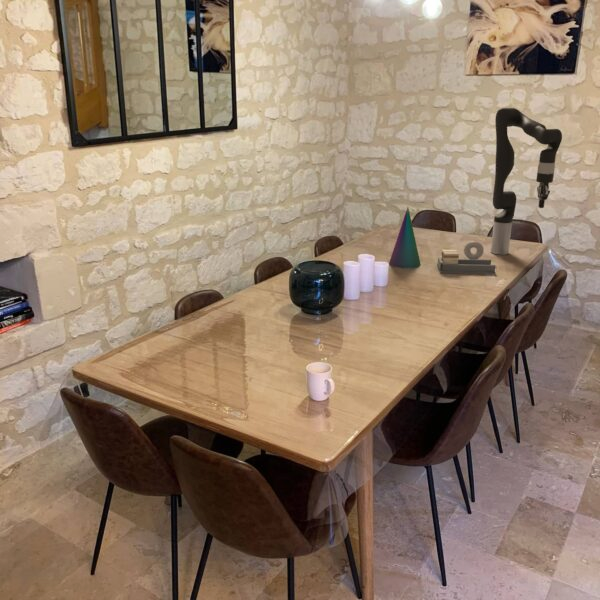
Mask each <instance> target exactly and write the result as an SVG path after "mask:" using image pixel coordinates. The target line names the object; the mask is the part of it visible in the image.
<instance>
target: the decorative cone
mask: <svg viewBox="0 0 600 600" xmlns="http://www.w3.org/2000/svg"><path fill="white" fill-rule="evenodd" d="M412 222H413V221H412V218H411V213H410V209H409V206H407V207H406V211H405V213H404V217H403V220H402V222H401V226H400V229H399V232H398V235H397V238H396V241H395V244H394V247H393V250H392V253H391V256H390V259H389V261H388V264H389V266H391V267H394V268H397V269H398V268H399V269H414V268H415V269H416V268H419V267H420V266H421V265H422V264H421V259H420V255H419V250H418V246H417V241H416V237H415V232H414V231H415V230H414V228H413V227H414V226H413V223H412Z"/></svg>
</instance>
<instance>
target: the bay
mask: <svg viewBox="0 0 600 600" xmlns="http://www.w3.org/2000/svg"><path fill="white" fill-rule="evenodd" d="M441 258H442V257H441V256H438V257H437V264H436V266H437V269H438V270H439V273H440V274H451V275H454V274H455V275H492V274H495V275H496V274H497V273H496V265H495V264H492V259H481V258H479V259H469V258H467V259H466V258H458V264H443V262H442V260H441Z"/></svg>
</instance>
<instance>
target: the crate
mask: <svg viewBox="0 0 600 600" xmlns="http://www.w3.org/2000/svg"><path fill="white" fill-rule="evenodd" d="M459 256H460V255H459V251H458V250H457V249H441V257H440V258H441V260H442V262H443V264H458V259H460V258H459Z"/></svg>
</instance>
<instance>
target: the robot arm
mask: <svg viewBox="0 0 600 600" xmlns="http://www.w3.org/2000/svg"><path fill="white" fill-rule="evenodd" d="M494 120H495V123H494V124H495V138H496V139H495V141H496V143H495V146H496V147H495V148H496V149H495V171H494V172H495V174H494V176H495V178H494V184H493V191H492V192H493V194H492V205H493V207H494V209H495V210H502V211H501V212H500V213H498V214H496V215H494V218H493V225H492V226H493V228H492V237H491V247H490V253H491V254H495V255H501V256H502V255H504V256H505V255H508V254H509V252H510V244H511V243H510V242H511V235H512V233H511V232H512V226H513V225H512V224H513V219H514V218H515V217H514V216H515V211H516V206H517V195H516V193H515V192H514V191H510V190H509V191H507V190H504V188H505V183H506V181H507V179H508V178H509V175H510V174H511V172H512V171H513V169H514V165H515V150H514V148H513V145H512V144H511V142H510V140H509V136H508V127H517V128H520V129H522V131H523V132H524V133H525V134H526V135H527V136H529V137H531V138H534V139H535V140H536V141H537V142H538V143H539V144H541V145H546V146H547V147H546V148H544V149H543V150H541V151H540V153H539V160H538V166H537V170H536V171H537V172H536V180H535V181H536V182H537V183H539V185H538V186H537V187H536V192H537V199H538V205H537V206H538V208H539V209H543V208H545V201H547V199H548V198H549V195H550V185H549V184H551V183H553V182H554V178H555V177H554V175H555V169H556V168H555V167H556V156H557V152H558V151H559V148H560V146H561V144H562V143H561V142H562V139H563V133H562V131H561V130H560V129H559V128H547V127H546V125H544V124H543V123H540V122H538V121H536V120H534V119H531V118H529V116H527V115H525V114H524V113H522V111H520V110H518V109H517V108H515V107H502V108H499V109H498V110H497V111H496V114H495V119H494Z"/></svg>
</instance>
